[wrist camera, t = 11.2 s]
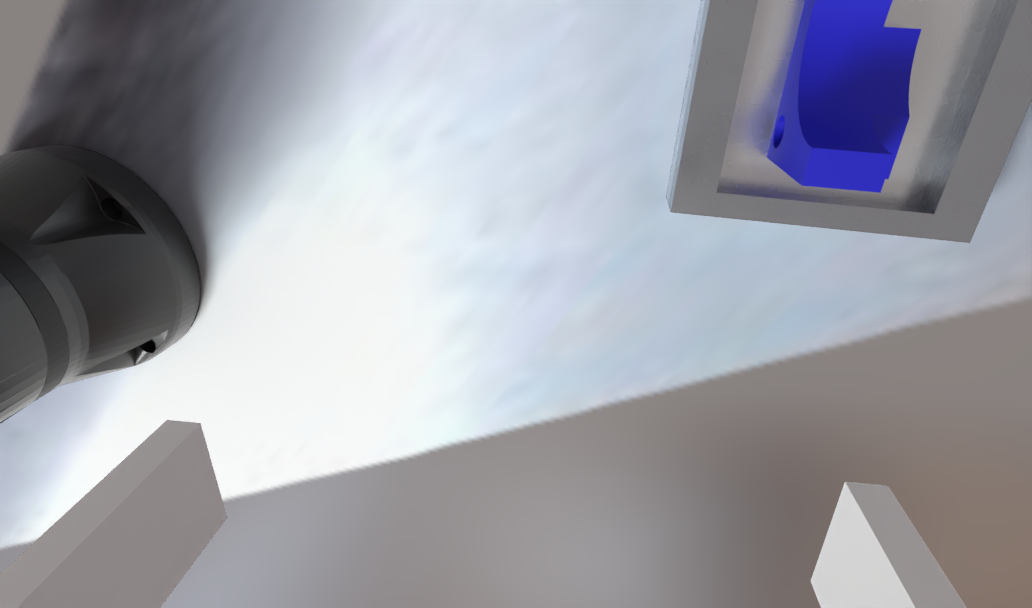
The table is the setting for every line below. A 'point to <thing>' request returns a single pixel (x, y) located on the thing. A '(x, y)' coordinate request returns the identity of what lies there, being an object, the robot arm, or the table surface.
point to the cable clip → (844, 96)
